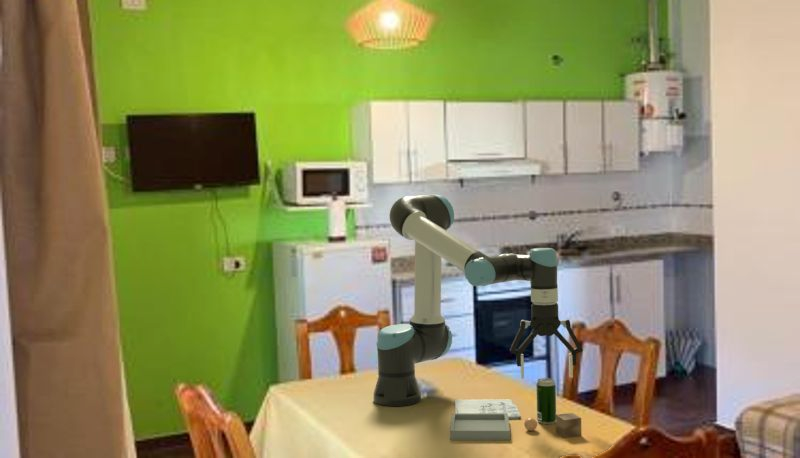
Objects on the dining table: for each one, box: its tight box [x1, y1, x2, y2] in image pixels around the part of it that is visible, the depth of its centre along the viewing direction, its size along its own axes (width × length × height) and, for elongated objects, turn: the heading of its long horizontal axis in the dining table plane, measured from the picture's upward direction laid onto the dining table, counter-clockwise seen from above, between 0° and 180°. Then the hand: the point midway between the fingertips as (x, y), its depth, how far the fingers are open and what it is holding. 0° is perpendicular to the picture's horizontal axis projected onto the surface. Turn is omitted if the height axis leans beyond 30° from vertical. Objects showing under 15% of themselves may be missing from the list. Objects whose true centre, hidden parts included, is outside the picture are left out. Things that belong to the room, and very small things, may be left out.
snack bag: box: [453, 398, 522, 420], centre depth 248 cm, size 19×20×2 cm
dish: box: [449, 413, 511, 441], centre depth 229 cm, size 16×16×2 cm
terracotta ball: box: [523, 417, 538, 432], centre depth 227 cm, size 4×4×4 cm
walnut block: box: [555, 412, 582, 439], centre depth 223 cm, size 5×5×5 cm
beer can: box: [536, 377, 557, 425], centre depth 234 cm, size 5×5×12 cm
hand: (546, 377), depth 234 cm, fingers open, 13 cm apart
